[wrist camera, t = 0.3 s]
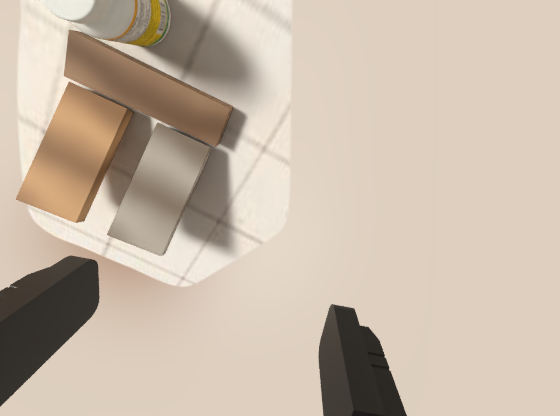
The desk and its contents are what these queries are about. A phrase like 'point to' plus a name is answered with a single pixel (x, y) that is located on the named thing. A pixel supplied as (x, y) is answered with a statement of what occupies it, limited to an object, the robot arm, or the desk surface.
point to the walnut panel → (145, 88)
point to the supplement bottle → (116, 19)
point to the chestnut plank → (74, 154)
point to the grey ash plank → (159, 190)
